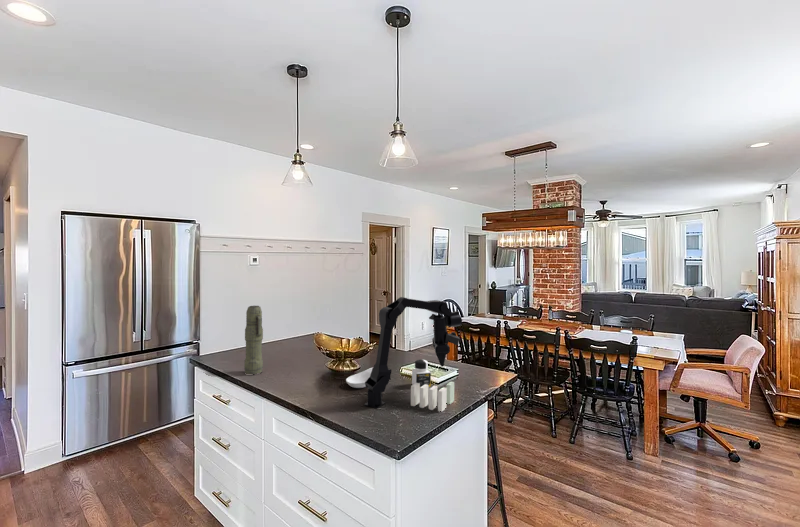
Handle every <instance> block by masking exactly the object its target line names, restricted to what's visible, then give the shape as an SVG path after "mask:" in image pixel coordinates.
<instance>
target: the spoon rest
mask: <svg viewBox="0 0 800 527" xmlns="http://www.w3.org/2000/svg"><path fill="white" fill-rule="evenodd" d="M373 367H374V366H372V367H370V368H368V369H366V370H365V369H364V370H363V371H360V372H358V373H356V374H351V375H350V376H348V377H347V378H345V382H346V384H348V386H350V387H352V388H354V389H364V388H367V387H366V386H365V382H366V381H367V380H368V378H369V377H370V375H371V372H372V368H373Z"/></svg>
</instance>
